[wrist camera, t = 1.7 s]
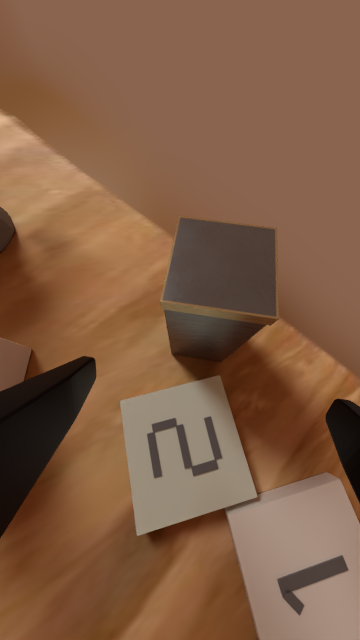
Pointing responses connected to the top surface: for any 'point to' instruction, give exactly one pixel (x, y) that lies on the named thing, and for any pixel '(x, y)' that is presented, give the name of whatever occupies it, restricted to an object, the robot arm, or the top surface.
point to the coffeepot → (5, 229)
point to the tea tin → (219, 286)
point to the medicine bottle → (12, 363)
